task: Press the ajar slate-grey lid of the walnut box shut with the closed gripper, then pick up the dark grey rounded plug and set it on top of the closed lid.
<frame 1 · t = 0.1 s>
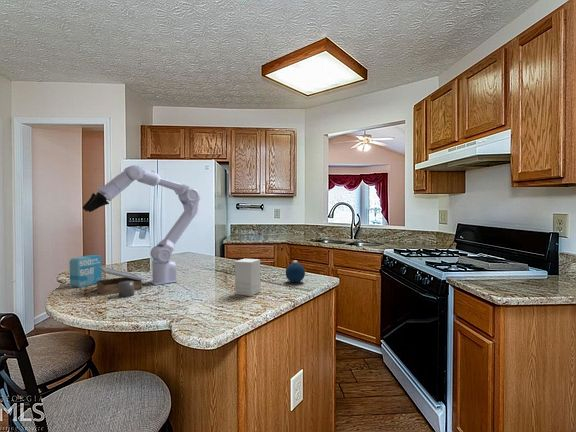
hand: (86, 209, 129), 32 cm above the counter, tool tilted 50°, fingers open, 7 cm apart
christmas ornament: (295, 282, 146), on the counter
supplement box: (248, 293, 129), on the counter
data package: (86, 285, 144), on the counter
lid: (120, 273, 136), point 6 cm above the counter, hinge at 20.0°
dark grey rounded plug: (126, 295, 126), on the counter
box: (119, 289, 135), on the counter
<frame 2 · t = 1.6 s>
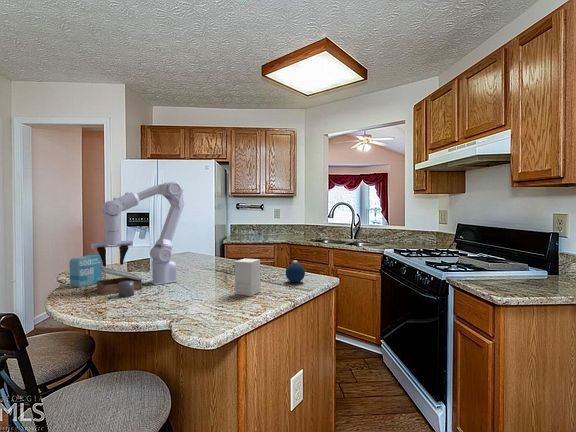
hand: (113, 265, 134), 10 cm above the counter, tool pointing down, fingers open, 5 cm apart
nothing on the counter moved.
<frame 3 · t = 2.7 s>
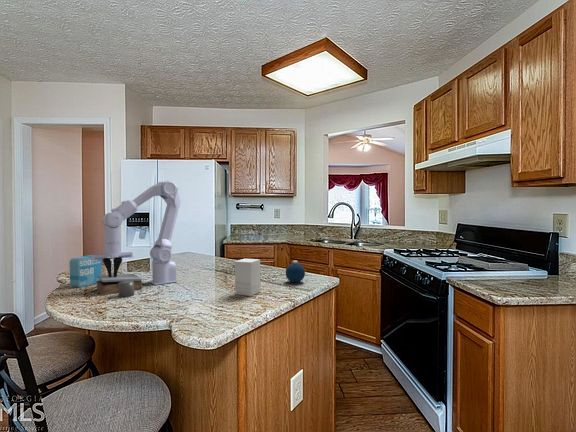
hand: (112, 277, 134), 5 cm above the counter, tool pointing down, fingers closed, pressing on lid
lid: (119, 277, 135), point 5 cm above the counter, hinge at 6.1°, touching gripper
everything else where it was.
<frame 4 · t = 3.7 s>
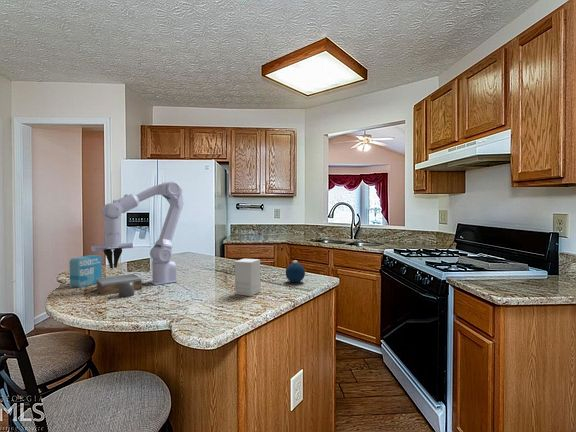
hand: (113, 267, 134), 9 cm above the counter, tool pointing down, fingers closed
lid: (119, 279, 135), point 4 cm above the counter, hinge at -0.2°
everything else where it was.
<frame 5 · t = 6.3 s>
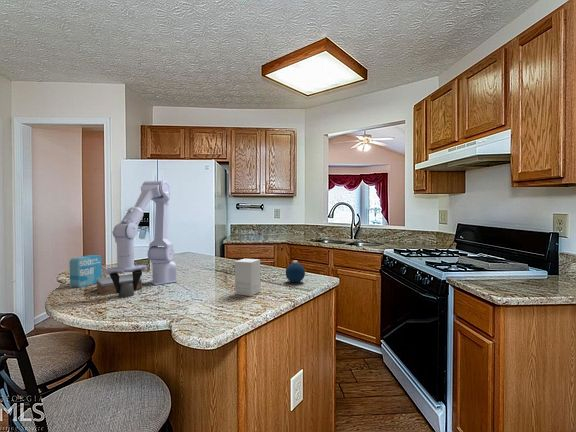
hand: (126, 291, 126), 1 cm above the counter, tool pointing down, fingers closed on dark grey rounded plug, 5 cm apart
dark grey rounded plug: (126, 295, 126), on the counter, touching gripper
everything else where it was.
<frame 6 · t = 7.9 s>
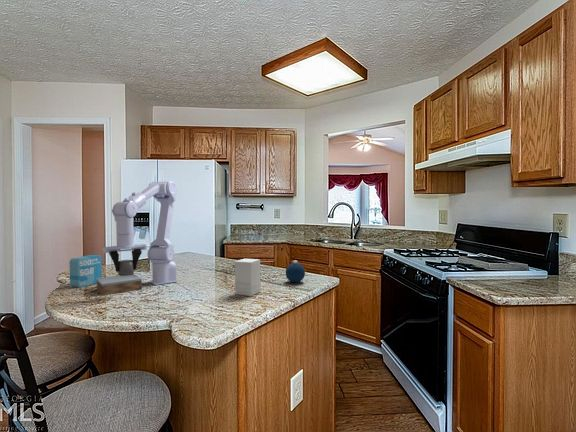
hand: (125, 270, 126), 9 cm above the counter, tool pointing down, fingers closed on dark grey rounded plug, 5 cm apart
dark grey rounded plug: (126, 274, 126), point 8 cm above the counter, touching gripper
everything else where it was.
when the fingers open (7 cm above the counter, at t = 9.6 s): dark grey rounded plug drops 1 cm, resting on lid.
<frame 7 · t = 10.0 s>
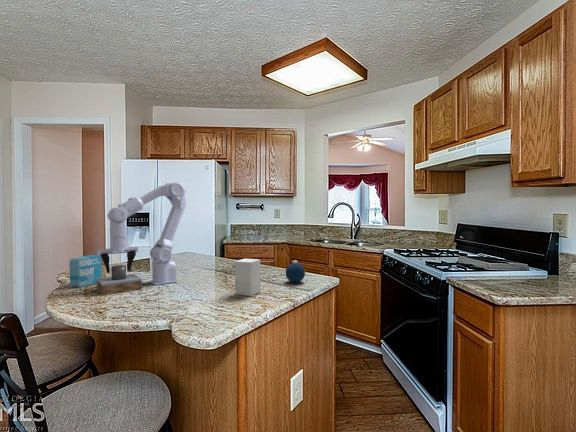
hand: (118, 271, 135), 7 cm above the counter, tool pointing down, fingers open, 7 cm apart
lid: (119, 279, 135), point 4 cm above the counter, hinge at -0.2°, touching dark grey rounded plug
dark grey rounded plug: (118, 278, 135), point 4 cm above the counter, touching lid
everything else where it was.
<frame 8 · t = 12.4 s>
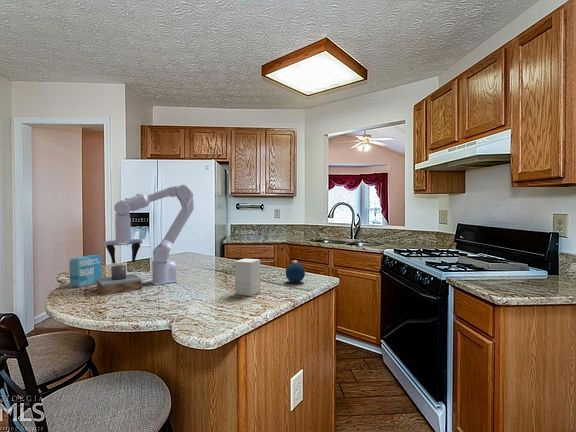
hand: (123, 262, 141), 10 cm above the counter, tool pointing down, fingers open, 7 cm apart
nothing on the counter moved.
at the end: lid at +0° (first picture: +20°); dark grey rounded plug inside the target area on the box (0.1 cm from its centre), point 4.3 cm above the box's base; dark grey rounded plug tilted 0° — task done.
